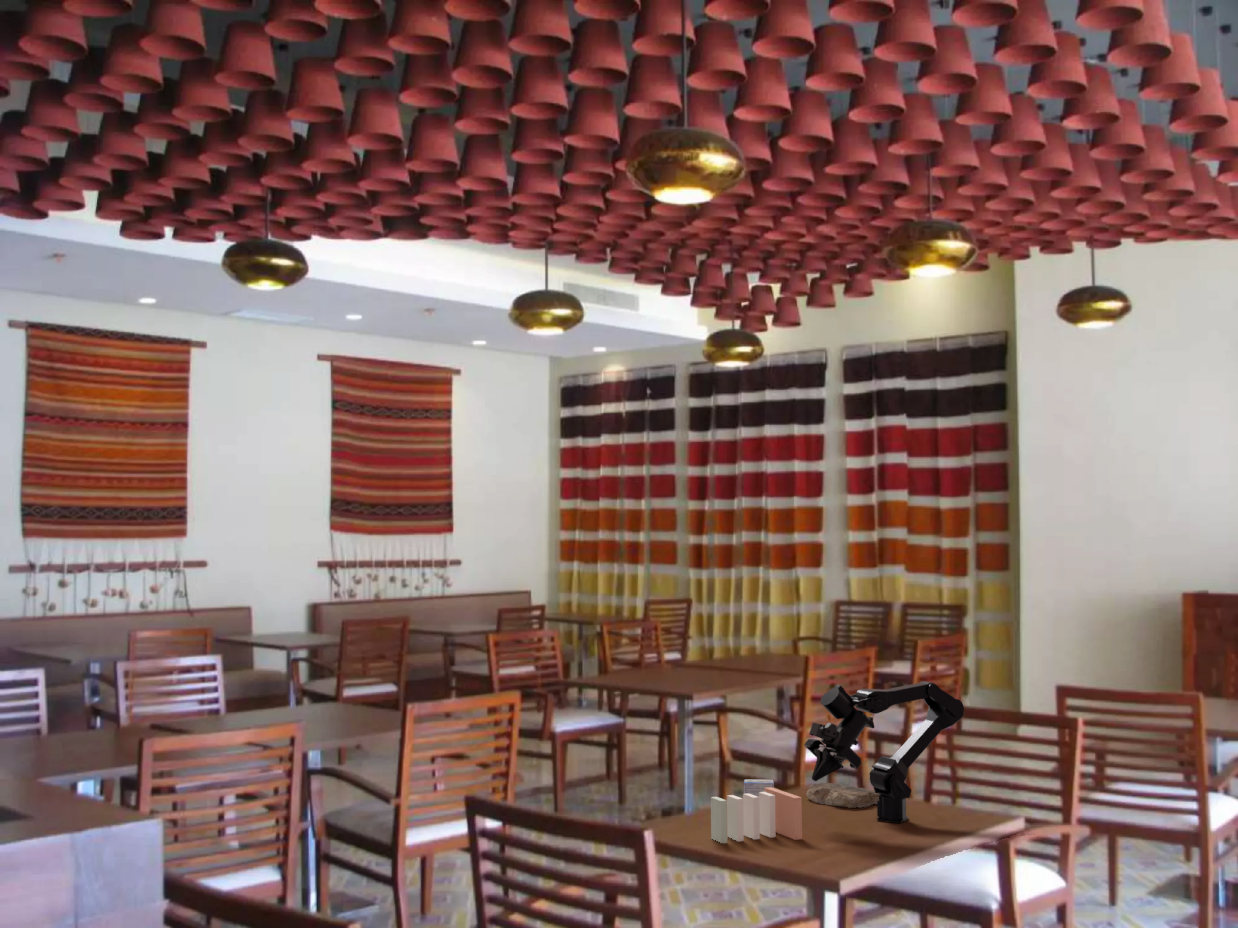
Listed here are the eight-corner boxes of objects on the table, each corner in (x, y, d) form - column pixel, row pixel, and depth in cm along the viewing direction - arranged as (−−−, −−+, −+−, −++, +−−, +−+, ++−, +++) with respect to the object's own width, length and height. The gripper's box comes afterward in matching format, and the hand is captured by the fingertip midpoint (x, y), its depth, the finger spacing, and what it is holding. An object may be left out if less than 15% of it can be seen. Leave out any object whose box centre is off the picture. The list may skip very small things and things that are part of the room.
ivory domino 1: (733, 836, 306) (732, 794, 306) (743, 840, 301) (743, 798, 302) (727, 836, 305) (727, 795, 306) (737, 841, 300) (737, 799, 301)
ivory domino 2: (749, 834, 308) (748, 793, 308) (759, 838, 303) (759, 796, 304) (743, 834, 307) (743, 793, 307) (753, 839, 302) (753, 797, 303)
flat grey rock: (794, 801, 348) (853, 811, 333) (794, 783, 348) (853, 792, 334) (825, 794, 358) (884, 804, 343) (825, 777, 358) (883, 786, 343)
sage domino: (717, 838, 304) (716, 796, 304) (727, 842, 299) (726, 800, 300) (711, 838, 303) (710, 796, 304) (721, 843, 299) (720, 800, 299)
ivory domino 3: (764, 832, 309) (764, 791, 310) (775, 836, 305) (775, 795, 305) (759, 833, 309) (758, 792, 309) (769, 837, 304) (769, 795, 305)
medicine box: (774, 812, 332) (773, 779, 333) (774, 815, 328) (774, 782, 328) (744, 811, 333) (743, 778, 334) (744, 815, 329) (743, 782, 329)
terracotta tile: (771, 827, 315) (771, 786, 316) (802, 839, 303) (801, 797, 303) (764, 827, 315) (764, 787, 315) (795, 839, 302) (794, 797, 302)
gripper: (808, 706, 325) (773, 754, 320) (847, 713, 308) (811, 764, 303) (836, 734, 328) (802, 782, 323) (876, 742, 310) (841, 793, 305)
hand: (813, 779), depth 313 cm, fingers closed
